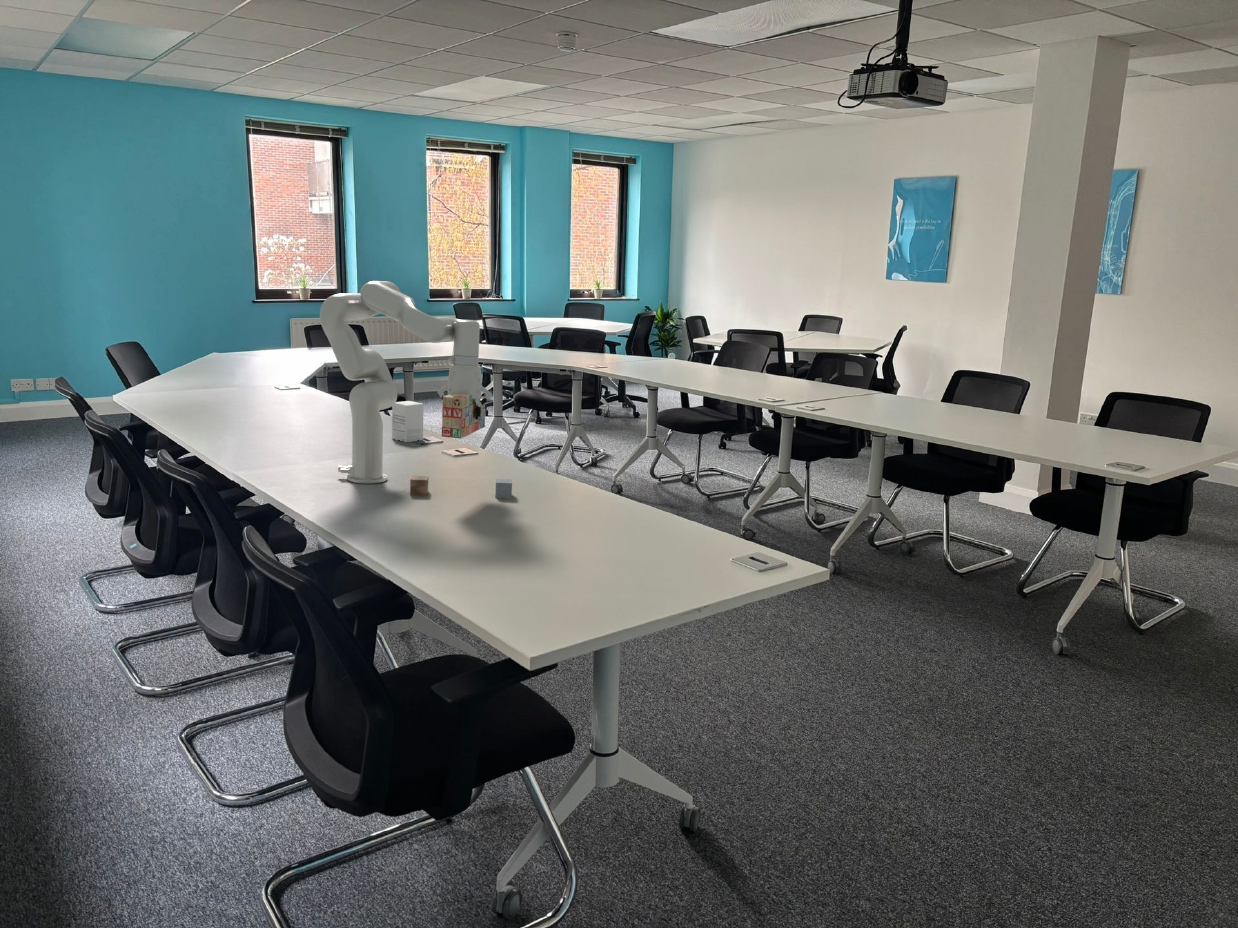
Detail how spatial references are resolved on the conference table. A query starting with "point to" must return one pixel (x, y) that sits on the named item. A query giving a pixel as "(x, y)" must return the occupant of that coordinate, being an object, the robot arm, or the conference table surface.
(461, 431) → the stack of blocks
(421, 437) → the supplement box
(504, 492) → the slate cube
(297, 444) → the conference table surface
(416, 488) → the walnut cube
